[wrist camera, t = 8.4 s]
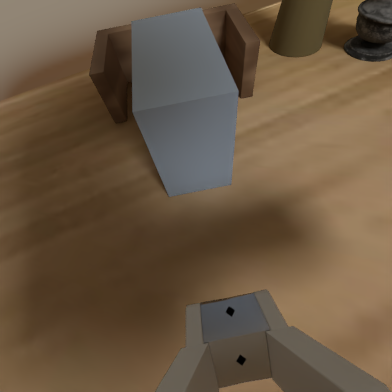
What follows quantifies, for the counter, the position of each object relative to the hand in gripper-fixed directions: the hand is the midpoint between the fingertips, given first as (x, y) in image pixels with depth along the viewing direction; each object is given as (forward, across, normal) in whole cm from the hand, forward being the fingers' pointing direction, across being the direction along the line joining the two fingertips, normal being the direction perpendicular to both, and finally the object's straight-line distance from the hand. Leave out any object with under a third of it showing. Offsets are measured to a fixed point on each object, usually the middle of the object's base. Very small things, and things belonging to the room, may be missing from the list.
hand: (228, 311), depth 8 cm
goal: (+19, 0, -12) cm, 23 cm away
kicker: (+13, 0, -6) cm, 15 cm away
